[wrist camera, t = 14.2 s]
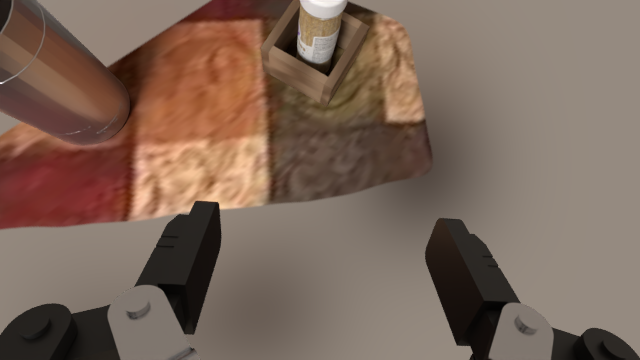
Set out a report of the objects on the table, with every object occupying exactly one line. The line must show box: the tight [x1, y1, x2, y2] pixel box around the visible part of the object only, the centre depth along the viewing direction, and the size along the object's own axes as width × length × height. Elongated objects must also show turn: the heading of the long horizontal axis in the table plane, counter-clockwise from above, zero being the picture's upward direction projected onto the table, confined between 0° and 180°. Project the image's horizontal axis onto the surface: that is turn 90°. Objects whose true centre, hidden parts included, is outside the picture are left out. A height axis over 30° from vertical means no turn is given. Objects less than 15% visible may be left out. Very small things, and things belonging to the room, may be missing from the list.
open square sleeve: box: [261, 0, 370, 107], centre depth 40 cm, size 9×9×5 cm
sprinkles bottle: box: [296, 0, 348, 74], centre depth 36 cm, size 5×5×14 cm
